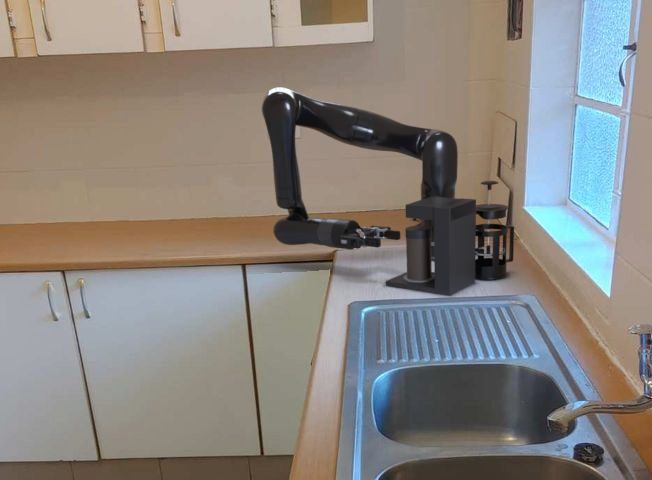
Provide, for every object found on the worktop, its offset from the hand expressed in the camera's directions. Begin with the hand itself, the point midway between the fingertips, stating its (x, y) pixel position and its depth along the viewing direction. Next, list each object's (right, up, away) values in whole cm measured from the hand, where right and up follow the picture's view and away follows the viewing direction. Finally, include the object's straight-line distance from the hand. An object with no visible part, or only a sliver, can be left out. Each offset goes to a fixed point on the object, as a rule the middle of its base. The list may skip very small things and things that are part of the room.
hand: (390, 239), depth 186 cm
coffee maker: (+10, -12, -3) cm, 15 cm away
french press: (+25, -9, +1) cm, 27 cm away
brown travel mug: (+7, -10, -2) cm, 12 cm away
